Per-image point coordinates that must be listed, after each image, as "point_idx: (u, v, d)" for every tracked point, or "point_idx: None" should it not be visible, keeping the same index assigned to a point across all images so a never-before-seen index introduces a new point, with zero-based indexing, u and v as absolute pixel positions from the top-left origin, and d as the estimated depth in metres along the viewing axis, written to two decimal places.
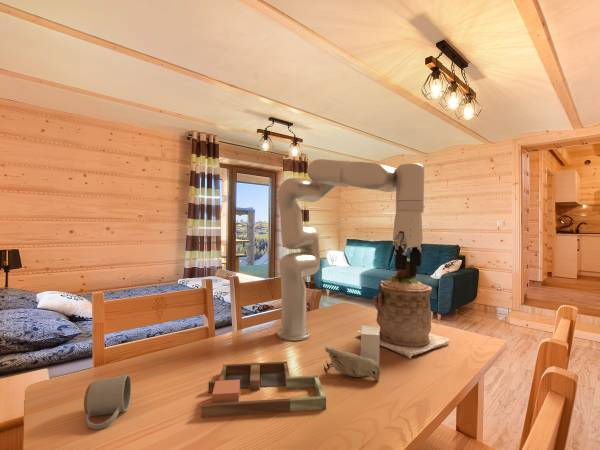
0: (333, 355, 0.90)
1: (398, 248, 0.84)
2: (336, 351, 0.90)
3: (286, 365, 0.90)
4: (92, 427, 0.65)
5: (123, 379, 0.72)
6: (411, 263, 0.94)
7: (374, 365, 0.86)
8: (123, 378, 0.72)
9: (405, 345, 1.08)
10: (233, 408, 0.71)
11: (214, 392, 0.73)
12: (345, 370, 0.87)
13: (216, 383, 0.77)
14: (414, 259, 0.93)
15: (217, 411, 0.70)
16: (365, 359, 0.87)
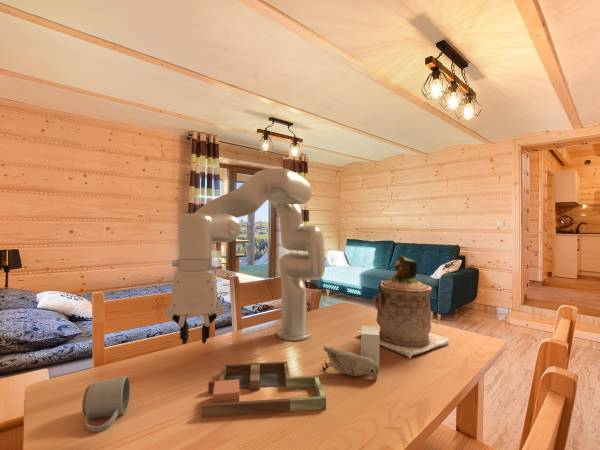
0: (331, 354, 0.90)
1: None
2: (334, 350, 0.91)
3: (286, 365, 0.90)
4: (90, 430, 0.65)
5: (122, 381, 0.71)
6: (186, 340, 0.74)
7: (373, 364, 0.87)
8: (122, 380, 0.71)
9: (405, 345, 1.08)
10: (233, 408, 0.71)
11: (215, 392, 0.73)
12: (344, 369, 0.88)
13: (216, 383, 0.77)
14: (187, 334, 0.75)
15: (217, 411, 0.70)
16: (363, 358, 0.88)
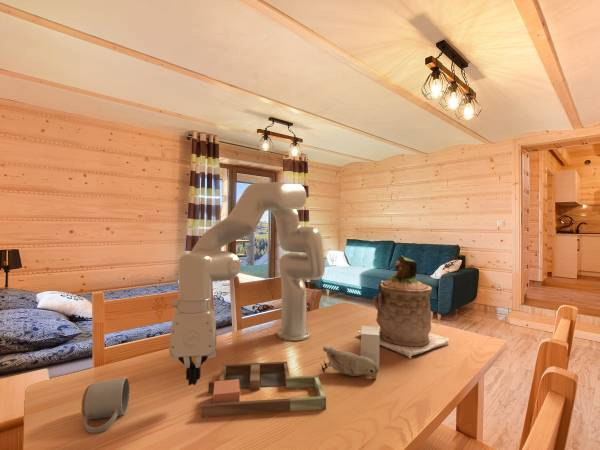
0: (331, 354, 0.90)
1: None
2: (334, 350, 0.91)
3: (286, 365, 0.90)
4: (90, 431, 0.64)
5: (121, 382, 0.70)
6: None
7: (372, 364, 0.87)
8: (122, 380, 0.71)
9: (405, 345, 1.08)
10: (233, 408, 0.71)
11: (215, 392, 0.73)
12: (343, 369, 0.88)
13: (215, 384, 0.77)
14: None
15: (217, 411, 0.70)
16: (363, 358, 0.88)
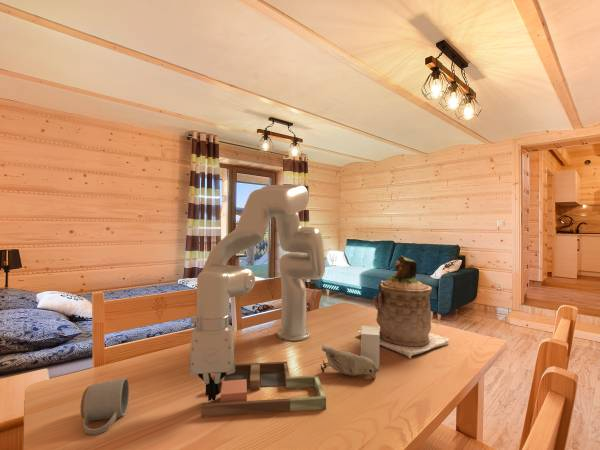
0: (330, 354, 0.90)
1: None
2: (333, 350, 0.91)
3: (286, 365, 0.90)
4: (89, 432, 0.64)
5: (120, 383, 0.70)
6: (211, 397, 0.75)
7: (371, 363, 0.87)
8: (121, 382, 0.70)
9: (405, 345, 1.08)
10: (233, 408, 0.71)
11: (222, 392, 0.73)
12: (342, 369, 0.88)
13: (223, 383, 0.77)
14: None
15: (217, 411, 0.70)
16: (362, 358, 0.88)
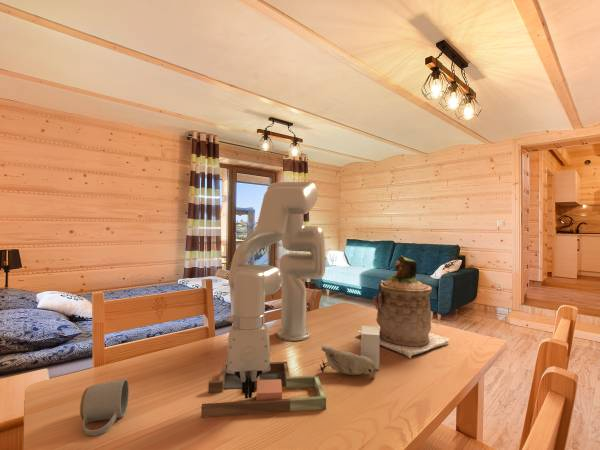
0: (329, 354, 0.90)
1: None
2: (332, 350, 0.91)
3: (286, 365, 0.90)
4: (88, 433, 0.64)
5: (120, 384, 0.70)
6: (247, 395, 0.76)
7: (370, 363, 0.87)
8: (120, 382, 0.70)
9: (405, 345, 1.08)
10: (233, 408, 0.71)
11: (258, 391, 0.74)
12: (341, 368, 0.88)
13: (258, 382, 0.78)
14: None
15: (217, 411, 0.70)
16: (361, 357, 0.89)
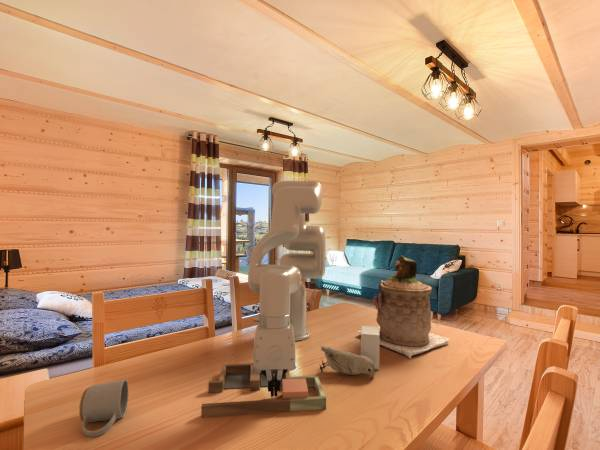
0: (329, 354, 0.90)
1: None
2: (332, 350, 0.91)
3: None
4: (87, 434, 0.63)
5: (120, 384, 0.69)
6: None
7: (370, 363, 0.88)
8: (120, 383, 0.70)
9: (405, 345, 1.08)
10: (233, 408, 0.71)
11: (284, 390, 0.74)
12: (341, 368, 0.88)
13: (283, 381, 0.78)
14: None
15: (217, 411, 0.70)
16: (360, 357, 0.89)
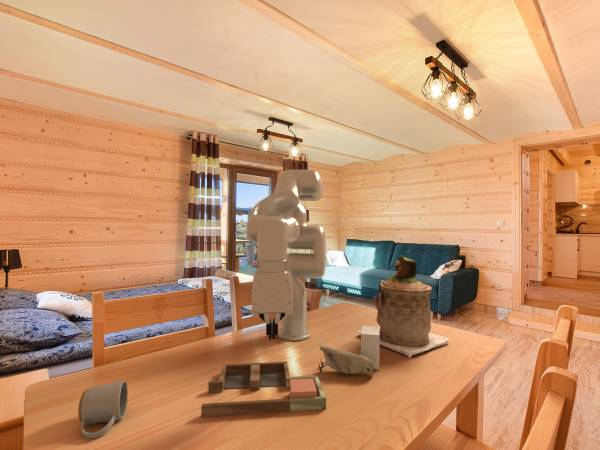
0: (328, 353, 0.91)
1: None
2: (330, 349, 0.92)
3: (286, 365, 0.90)
4: (86, 436, 0.63)
5: (119, 386, 0.69)
6: (271, 336, 0.79)
7: (368, 362, 0.88)
8: (119, 384, 0.69)
9: (405, 344, 1.08)
10: (233, 408, 0.71)
11: (293, 390, 0.75)
12: (340, 368, 0.89)
13: (291, 381, 0.79)
14: None
15: (217, 411, 0.70)
16: (359, 356, 0.89)
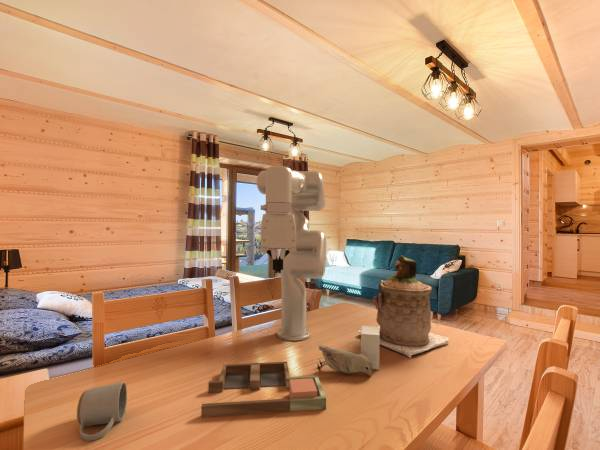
0: (327, 353, 0.91)
1: None
2: (329, 349, 0.92)
3: (286, 365, 0.90)
4: (85, 438, 0.62)
5: (118, 387, 0.68)
6: None
7: (367, 361, 0.89)
8: (118, 386, 0.69)
9: (405, 344, 1.08)
10: (233, 408, 0.71)
11: (293, 390, 0.75)
12: (339, 367, 0.89)
13: (291, 382, 0.78)
14: None
15: (217, 411, 0.70)
16: (358, 355, 0.90)
